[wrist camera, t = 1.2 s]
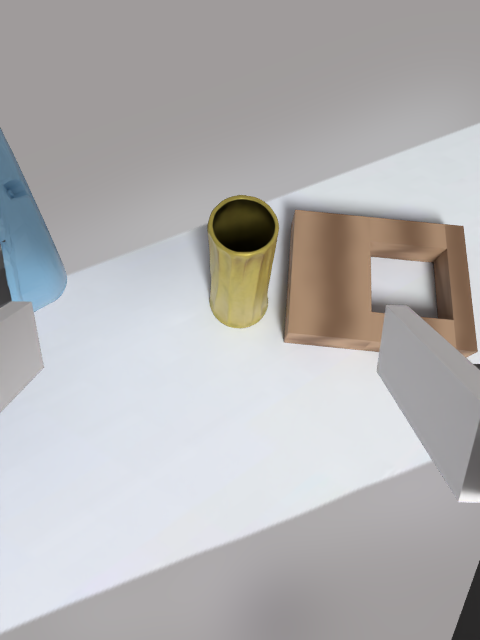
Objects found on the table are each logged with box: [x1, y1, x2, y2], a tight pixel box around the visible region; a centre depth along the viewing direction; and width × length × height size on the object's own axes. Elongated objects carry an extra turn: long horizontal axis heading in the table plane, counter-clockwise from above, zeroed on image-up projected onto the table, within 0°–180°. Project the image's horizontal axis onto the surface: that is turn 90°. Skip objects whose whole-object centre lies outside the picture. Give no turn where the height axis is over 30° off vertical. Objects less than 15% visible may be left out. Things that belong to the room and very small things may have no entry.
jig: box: [284, 210, 478, 357], centre depth 43 cm, size 18×14×3 cm
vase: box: [207, 195, 279, 328], centre depth 37 cm, size 6×6×14 cm
